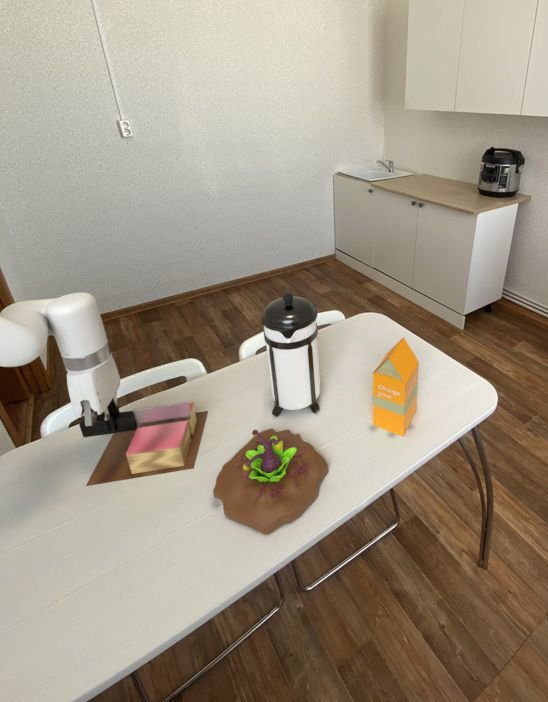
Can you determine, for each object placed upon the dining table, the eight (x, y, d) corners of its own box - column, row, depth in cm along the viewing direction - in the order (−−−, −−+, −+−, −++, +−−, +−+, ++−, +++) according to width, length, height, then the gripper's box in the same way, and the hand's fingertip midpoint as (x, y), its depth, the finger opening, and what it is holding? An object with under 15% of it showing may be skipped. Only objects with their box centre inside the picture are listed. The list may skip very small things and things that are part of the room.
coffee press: (341, 395, 98) (337, 290, 87) (291, 432, 87) (279, 317, 77) (299, 366, 109) (291, 270, 99) (250, 396, 98) (235, 291, 88)
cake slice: (145, 441, 84) (140, 422, 82) (151, 427, 88) (146, 408, 86) (193, 434, 86) (189, 415, 84) (197, 421, 89) (193, 402, 88)
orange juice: (416, 410, 93) (420, 340, 86) (403, 437, 85) (406, 362, 78) (387, 400, 96) (388, 332, 89) (372, 424, 89) (371, 352, 82)
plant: (273, 556, 63) (266, 508, 59) (199, 496, 73) (189, 452, 69) (342, 465, 79) (340, 423, 75) (273, 426, 89) (269, 387, 85)
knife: (83, 437, 79) (77, 420, 77) (88, 430, 81) (82, 413, 79) (190, 422, 82) (187, 405, 81) (192, 415, 84) (189, 399, 83)
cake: (86, 489, 75) (77, 465, 72) (119, 426, 89) (113, 404, 87) (194, 472, 78) (189, 448, 76) (209, 413, 93) (204, 392, 91)
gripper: (86, 334, 81) (107, 403, 87) (41, 385, 66) (71, 463, 73) (124, 330, 82) (143, 398, 88) (89, 379, 67) (114, 457, 74)
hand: (110, 427), depth 80 cm, fingers closed on knife, 2 cm apart
